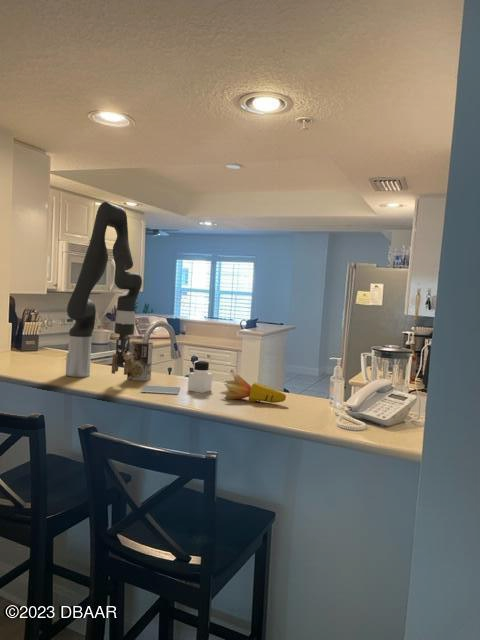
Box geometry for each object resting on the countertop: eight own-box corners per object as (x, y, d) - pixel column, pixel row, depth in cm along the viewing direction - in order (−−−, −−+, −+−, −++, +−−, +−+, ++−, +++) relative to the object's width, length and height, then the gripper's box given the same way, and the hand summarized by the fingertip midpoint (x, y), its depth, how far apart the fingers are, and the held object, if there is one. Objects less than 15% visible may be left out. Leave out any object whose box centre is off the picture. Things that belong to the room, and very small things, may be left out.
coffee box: (151, 378, 201) (153, 342, 200) (146, 381, 195) (149, 344, 194) (131, 376, 202) (133, 340, 201) (126, 379, 195) (128, 342, 194)
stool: (111, 373, 178) (113, 353, 178) (115, 370, 184) (116, 351, 184) (126, 374, 178) (128, 354, 178) (129, 372, 184) (131, 352, 184)
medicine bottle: (211, 390, 186) (213, 361, 185) (202, 393, 179) (204, 363, 178) (196, 387, 189) (198, 359, 188) (187, 390, 182) (189, 361, 181)
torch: (281, 416, 168) (218, 398, 174) (286, 402, 174) (225, 386, 180) (283, 399, 163) (218, 382, 169) (288, 385, 170) (226, 369, 176)
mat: (140, 392, 173) (140, 391, 172) (145, 386, 184) (145, 384, 184) (177, 394, 173) (177, 393, 173) (180, 388, 185) (180, 387, 185)
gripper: (119, 320, 187) (116, 360, 188) (111, 322, 173) (107, 366, 174) (137, 321, 187) (134, 362, 188) (130, 324, 173) (127, 367, 174)
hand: (121, 363), depth 181 cm, fingers closed on stool, 6 cm apart
